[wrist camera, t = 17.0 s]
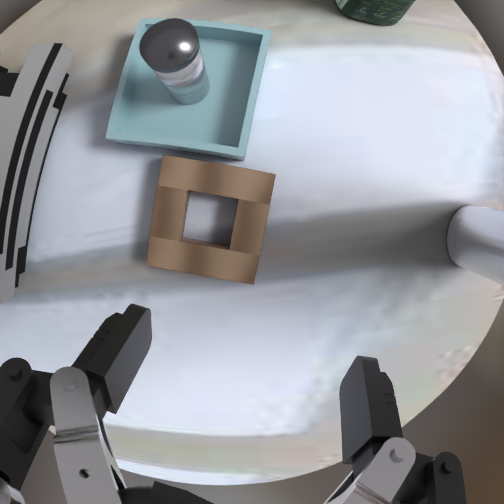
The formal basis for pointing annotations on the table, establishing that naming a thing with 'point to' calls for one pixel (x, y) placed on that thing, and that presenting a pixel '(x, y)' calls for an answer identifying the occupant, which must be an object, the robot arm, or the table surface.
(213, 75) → the parts tray
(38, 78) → the game console
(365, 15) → the coffee jar
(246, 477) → the table surface
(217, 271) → the brown square frame
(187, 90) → the bottle with dark cap
